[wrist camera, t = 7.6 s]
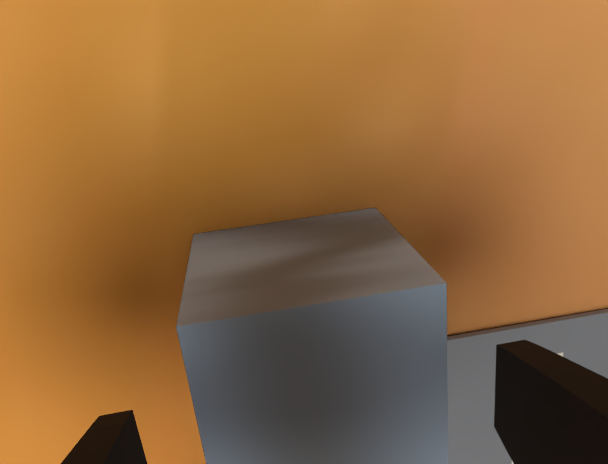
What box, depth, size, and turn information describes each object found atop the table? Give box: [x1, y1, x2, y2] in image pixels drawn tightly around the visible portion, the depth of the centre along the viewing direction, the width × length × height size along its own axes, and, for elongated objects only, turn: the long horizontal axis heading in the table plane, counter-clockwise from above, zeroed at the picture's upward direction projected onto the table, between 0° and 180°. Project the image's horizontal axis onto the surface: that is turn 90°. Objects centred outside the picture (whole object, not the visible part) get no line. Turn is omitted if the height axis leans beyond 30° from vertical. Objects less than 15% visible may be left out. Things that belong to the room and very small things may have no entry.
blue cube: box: [176, 208, 448, 464], centre depth 12 cm, size 5×5×5 cm
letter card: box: [447, 309, 608, 464], centre depth 18 cm, size 10×10×1 cm
